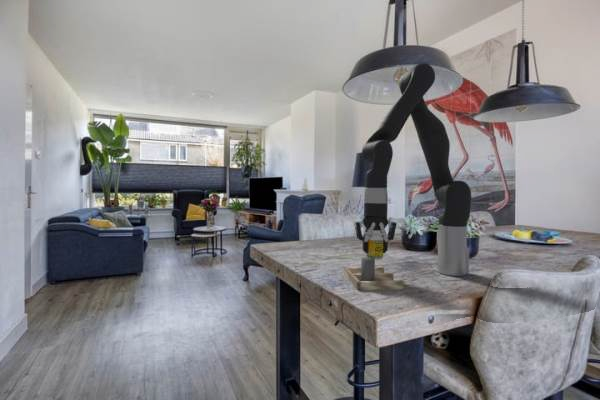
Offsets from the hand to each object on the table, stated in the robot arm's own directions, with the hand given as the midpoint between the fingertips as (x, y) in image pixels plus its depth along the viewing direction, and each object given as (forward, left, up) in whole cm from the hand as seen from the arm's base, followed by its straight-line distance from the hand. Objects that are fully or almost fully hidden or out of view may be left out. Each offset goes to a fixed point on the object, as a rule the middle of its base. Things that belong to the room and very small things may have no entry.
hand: (374, 252), depth 99 cm
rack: (+2, +4, -9) cm, 10 cm away
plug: (+5, +8, -8) cm, 13 cm away
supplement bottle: (0, 0, -2) cm, 2 cm away
